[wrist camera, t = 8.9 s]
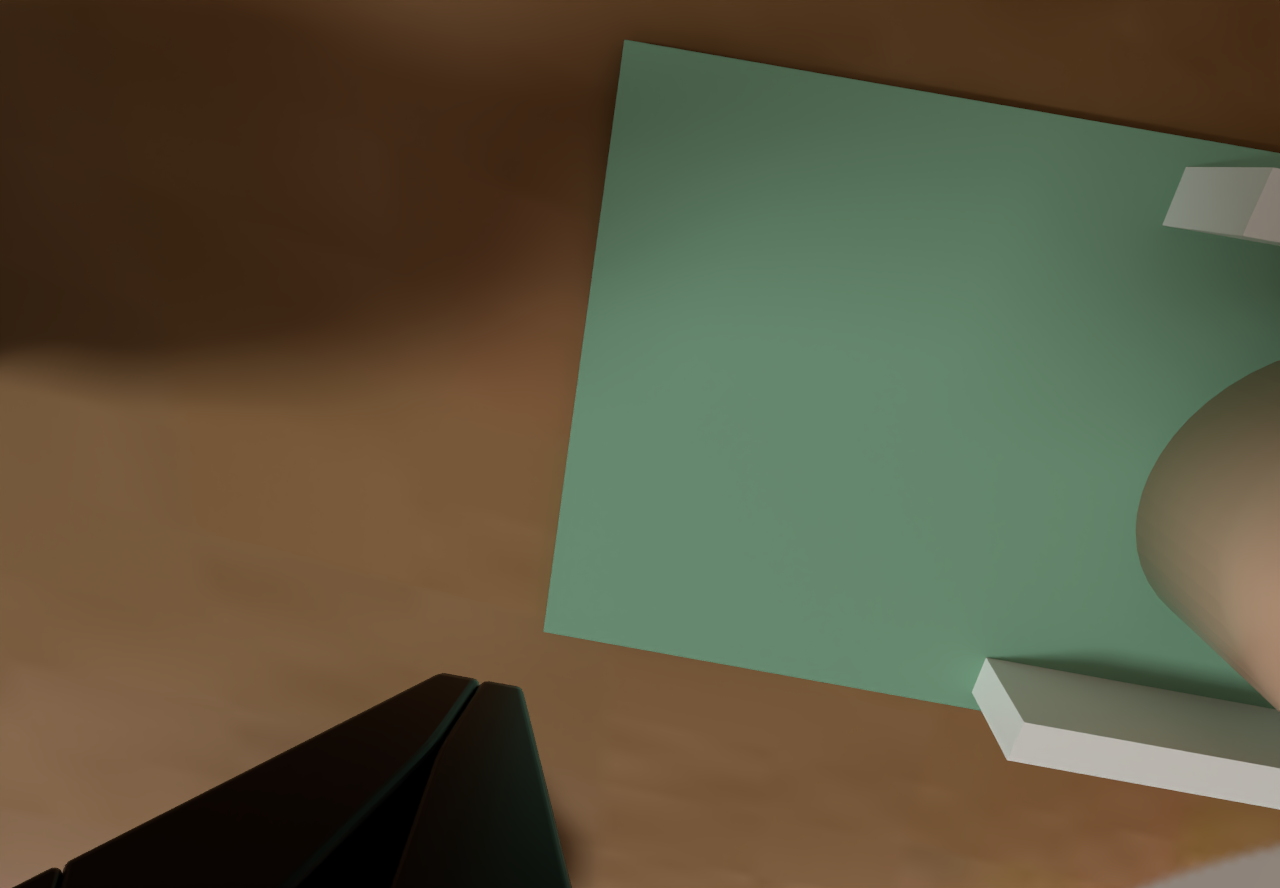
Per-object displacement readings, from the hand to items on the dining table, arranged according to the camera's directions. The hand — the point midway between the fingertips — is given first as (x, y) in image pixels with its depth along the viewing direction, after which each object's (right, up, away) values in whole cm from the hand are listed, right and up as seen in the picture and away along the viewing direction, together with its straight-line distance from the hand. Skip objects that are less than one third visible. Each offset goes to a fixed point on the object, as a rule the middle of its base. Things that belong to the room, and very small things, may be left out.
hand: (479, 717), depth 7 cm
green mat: (+12, +2, +11) cm, 17 cm away
